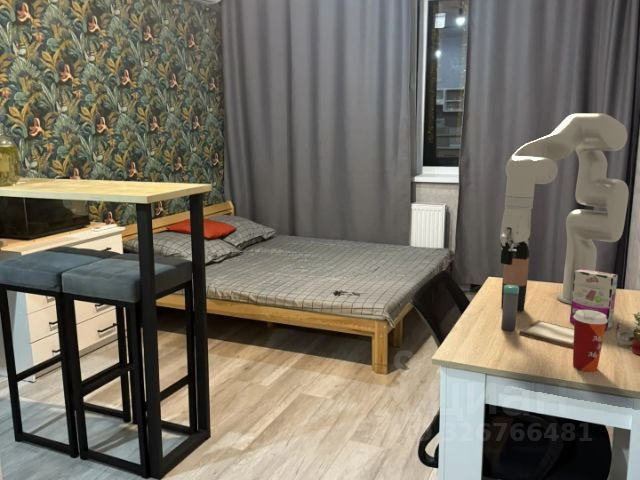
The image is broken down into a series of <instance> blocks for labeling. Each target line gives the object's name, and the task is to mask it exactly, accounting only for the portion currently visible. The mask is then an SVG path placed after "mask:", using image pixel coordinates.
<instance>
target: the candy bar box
mask: <svg viewBox="0 0 640 480" xmlns="http://www.w3.org/2000/svg"><path fill="white" fill-rule="evenodd" d="M618 278H619V274H615V273H610V272H604V271H603V272H602V271H598V270H595V271H592V270H586V269H578V270H576V271H575V272H574V283H573V293H572V304H570V305H571V307H570V313H569V314H570V315H569V322H570V323H573V324H574V321H575V319H574V317H573V316H574V315H575V313H576V311H578V310H593V311H598V312H601V313H603V314H605V315H606V319H607V321H608V322H607V323H606V325H605V331H608V330H610V329H611V328H612V327H613V323H614V315H615V314H614V313H615V306H616V303H615V302H616V295H617V286H618Z"/></svg>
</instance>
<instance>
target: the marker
mask: <svg viewBox="0 0 640 480" xmlns="http://www.w3.org/2000/svg"><path fill="white" fill-rule="evenodd" d="M518 293H519V287H518V286H515V285H505V286H504V299H503V309H502V313H501V326H500V327H501V330H502V331H504V332H508V333H510V332H516V327H517V316H518V315H517V313H518V312H517V304H518Z"/></svg>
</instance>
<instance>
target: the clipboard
mask: <svg viewBox="0 0 640 480" xmlns="http://www.w3.org/2000/svg"><path fill="white" fill-rule="evenodd" d="M518 331H519V332H518V334H519V335H522V336H526V337H528V338H533V339H537V340H540V341H544V342H547V343H551V344H555V345H560V346H563V347H566V348H571V349H573V345H574V327H567V326H563V325H559V324H555V323H552V322H546V321H544V320H543V321H542V320H538V319H537V320H536V321H534V322H532V323H531V324H530V323H529V324H528V325H527V326H524V328H522V329H520V330H518Z"/></svg>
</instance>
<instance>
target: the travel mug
mask: <svg viewBox="0 0 640 480" xmlns="http://www.w3.org/2000/svg"><path fill="white" fill-rule="evenodd" d="M516 249H517V246H513V249H512V251H513V260H512V265H507V264H503V270H502V283H501V303H500V304H501V307H500V308H501V310H503V299H504V286H505V285H515V286H518V287H519V293H518V304H517V313H518V312H523V311H524V309H525V305H526V296H527V286H528V277H529V276H528V275H529V265H530V264H529V263H530V253H531V252H530V249H529V248H528V253H527V259H526V260H524V259H518V258H516Z"/></svg>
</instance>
